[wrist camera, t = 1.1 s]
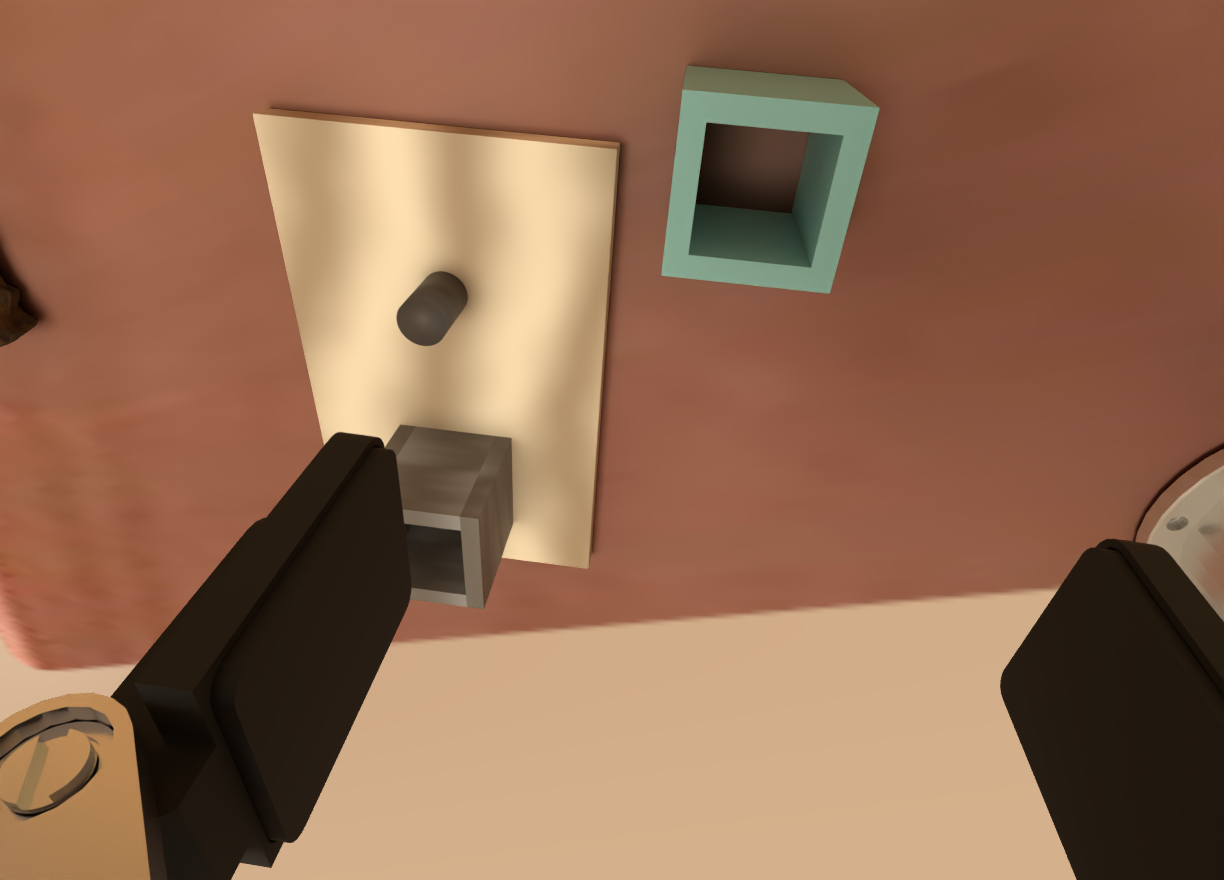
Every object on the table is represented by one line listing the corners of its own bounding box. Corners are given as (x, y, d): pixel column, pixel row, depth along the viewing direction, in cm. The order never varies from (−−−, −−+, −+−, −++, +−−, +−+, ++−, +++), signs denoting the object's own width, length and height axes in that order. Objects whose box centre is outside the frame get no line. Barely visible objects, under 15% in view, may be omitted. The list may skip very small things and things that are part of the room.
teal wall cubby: (844, 79, 24) (879, 107, 19) (806, 235, 27) (830, 293, 22) (686, 65, 24) (682, 89, 20) (668, 221, 28) (661, 275, 23)
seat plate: (620, 142, 26) (596, 192, 20) (591, 553, 39) (571, 658, 33) (269, 108, 27) (147, 147, 21) (353, 522, 39) (291, 619, 34)
